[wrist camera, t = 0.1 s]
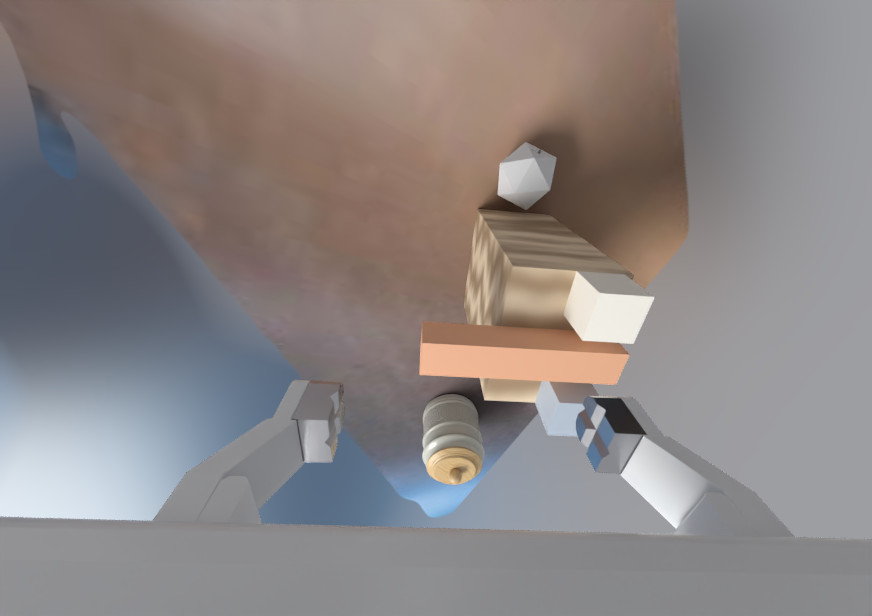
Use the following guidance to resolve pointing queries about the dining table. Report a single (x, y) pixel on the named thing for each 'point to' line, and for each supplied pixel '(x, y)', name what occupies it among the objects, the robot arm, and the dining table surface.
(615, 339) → the cube cream
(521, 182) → the die
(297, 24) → the dining table surface
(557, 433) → the cube slate
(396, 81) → the dining table surface
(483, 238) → the oak stand
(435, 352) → the bar terracotta
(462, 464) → the jar
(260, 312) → the dining table surface
